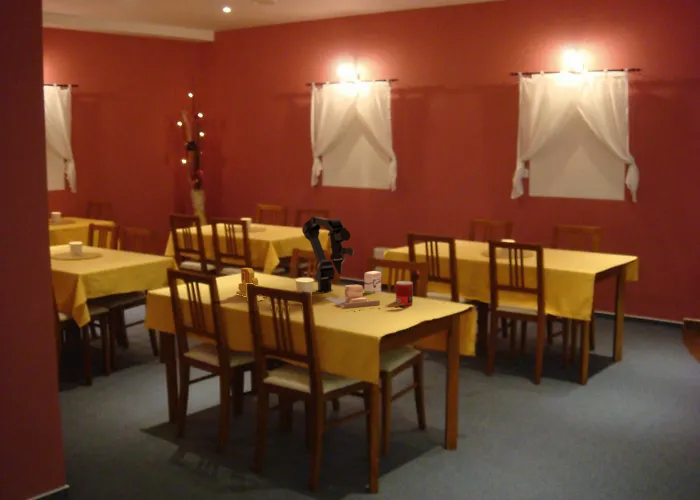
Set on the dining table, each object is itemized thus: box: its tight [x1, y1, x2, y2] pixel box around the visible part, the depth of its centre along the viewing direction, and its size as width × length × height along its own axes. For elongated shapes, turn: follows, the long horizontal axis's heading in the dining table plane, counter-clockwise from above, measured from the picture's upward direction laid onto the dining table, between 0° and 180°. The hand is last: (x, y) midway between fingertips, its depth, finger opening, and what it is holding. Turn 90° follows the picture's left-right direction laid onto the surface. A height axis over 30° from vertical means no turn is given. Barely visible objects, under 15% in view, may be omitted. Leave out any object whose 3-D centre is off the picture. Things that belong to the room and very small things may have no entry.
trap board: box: [324, 295, 371, 306], centre depth 367 cm, size 18×18×2 cm
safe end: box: [338, 299, 381, 312], centre depth 355 cm, size 7×18×4 cm, turn 114°
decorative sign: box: [235, 267, 260, 297], centre depth 379 cm, size 20×3×15 cm, turn 41°
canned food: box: [395, 280, 414, 307], centre depth 361 cm, size 8×8×11 cm
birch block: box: [344, 284, 368, 303], centre depth 358 cm, size 10×7×8 cm
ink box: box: [363, 270, 382, 295], centre depth 385 cm, size 9×5×12 cm, turn 143°
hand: (340, 274), depth 380 cm, fingers closed
